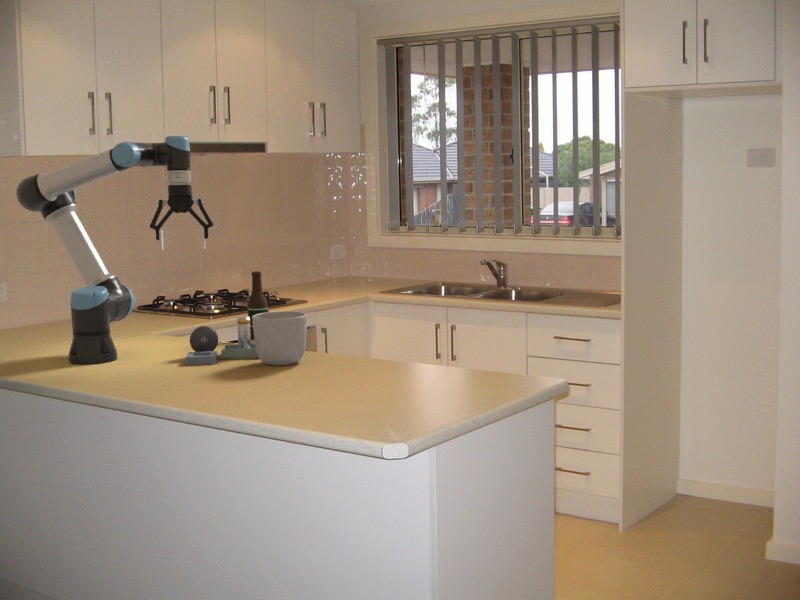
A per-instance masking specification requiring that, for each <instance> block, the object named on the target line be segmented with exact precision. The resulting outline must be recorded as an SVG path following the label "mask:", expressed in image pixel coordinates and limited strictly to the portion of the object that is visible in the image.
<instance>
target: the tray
mask: <svg viewBox="0 0 800 600" xmlns="http://www.w3.org/2000/svg"><path fill="white" fill-rule="evenodd" d="M220 352H221V353H220V354H221V360H232V359H231V358H244V359H260V358H259V357H258V354H257V352H256V347H255V343H251V349H238V343H236V344H235V343H233V344H223V345H222V348H221V350H220Z"/></svg>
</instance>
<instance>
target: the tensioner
mask: <svg viewBox="0 0 800 600" xmlns="http://www.w3.org/2000/svg"><path fill="white" fill-rule="evenodd" d="M218 343H219V335H218V333H217V331H216V330H215V329H214V328H213V327H211V326H208V325H200V326H198V327H196V328H194V330H193V331H192V333H191V334H190V336H189V345H190V347H191V349H192V350H193V351H189V352H188V353H187V354H186V356H185V365H186V366H195V365H196V364H201V365H215V364H216V363H217V361H218V359H219V358H218V350H216V348H217V346H218ZM217 358H218V359H217ZM214 363H215V364H214Z"/></svg>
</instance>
